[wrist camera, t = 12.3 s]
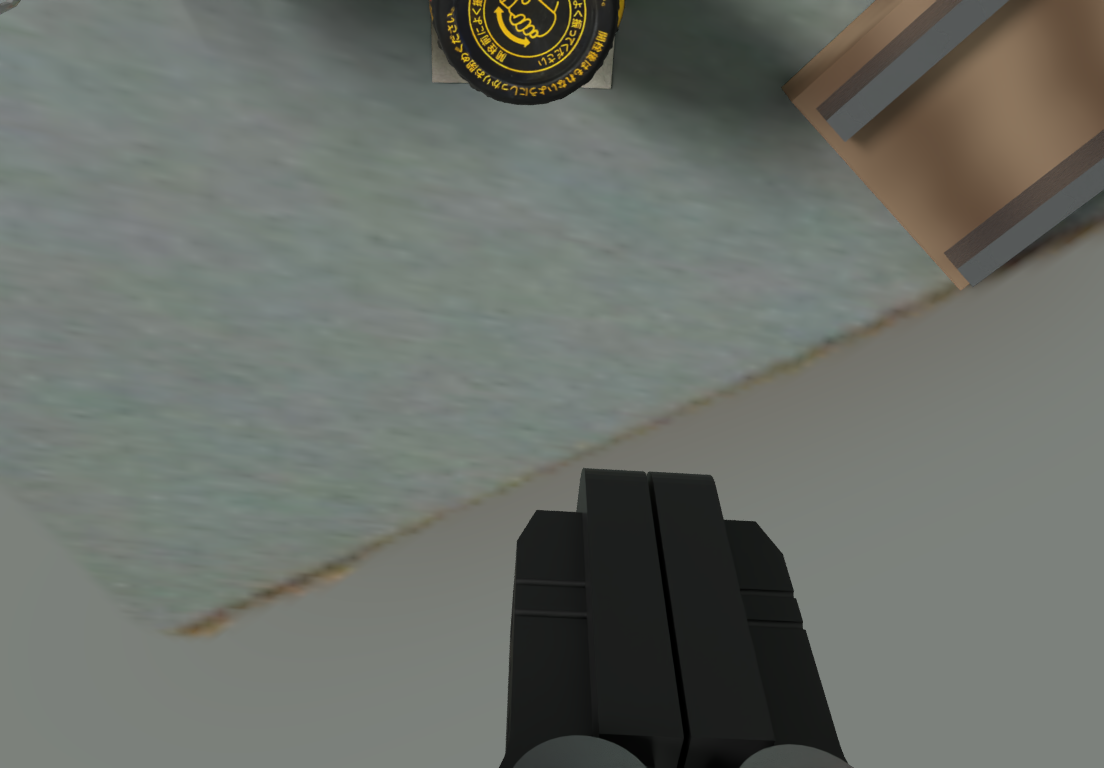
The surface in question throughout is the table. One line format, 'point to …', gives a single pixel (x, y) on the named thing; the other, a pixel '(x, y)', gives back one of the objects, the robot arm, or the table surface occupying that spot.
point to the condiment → (524, 46)
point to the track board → (966, 112)
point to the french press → (8, 5)
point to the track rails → (903, 63)
